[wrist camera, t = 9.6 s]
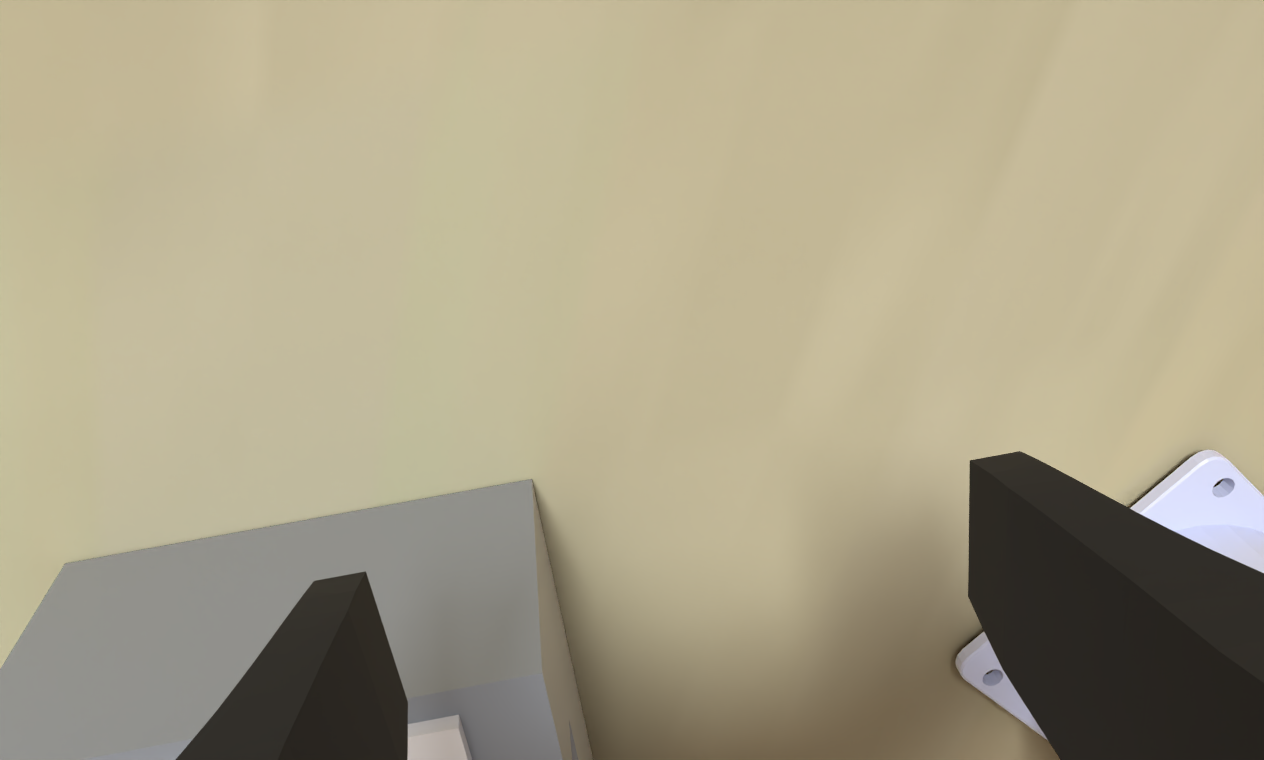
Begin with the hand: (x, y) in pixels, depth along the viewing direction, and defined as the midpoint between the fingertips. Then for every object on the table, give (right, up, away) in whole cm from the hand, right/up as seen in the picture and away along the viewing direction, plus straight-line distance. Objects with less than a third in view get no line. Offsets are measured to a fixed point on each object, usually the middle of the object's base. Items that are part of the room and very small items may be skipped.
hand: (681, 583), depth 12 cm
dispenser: (-7, -6, +13) cm, 16 cm away
